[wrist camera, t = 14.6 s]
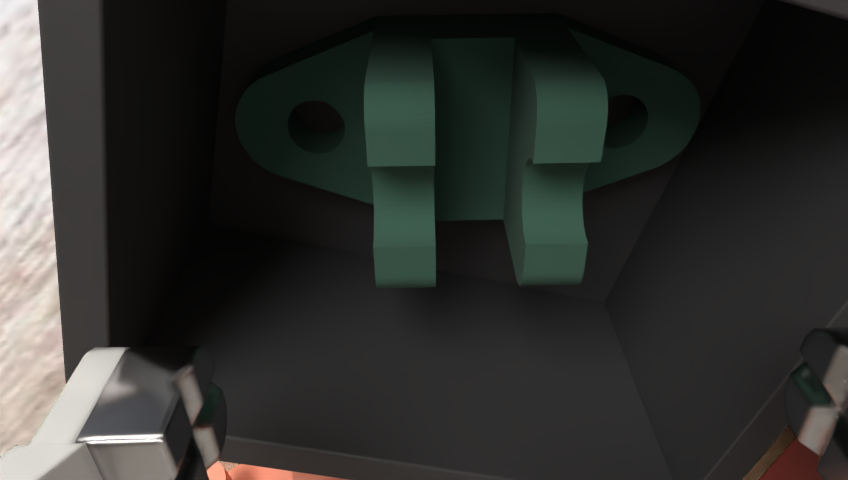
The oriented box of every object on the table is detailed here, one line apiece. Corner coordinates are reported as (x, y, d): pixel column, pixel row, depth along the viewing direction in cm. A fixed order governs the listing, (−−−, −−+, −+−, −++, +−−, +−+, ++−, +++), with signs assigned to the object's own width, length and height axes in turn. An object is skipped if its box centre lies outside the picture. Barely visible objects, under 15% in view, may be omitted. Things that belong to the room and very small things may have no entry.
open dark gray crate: (186, 225, 19) (68, 440, 12) (216, -252, 13) (10, -320, 6) (609, 309, 21) (698, 532, 14) (814, -65, 15) (1129, 30, 8)
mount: (701, 10, 15) (812, 86, 11) (663, 179, 17) (742, 294, 13) (231, 18, 15) (160, 97, 11) (261, 186, 17) (213, 305, 13)
